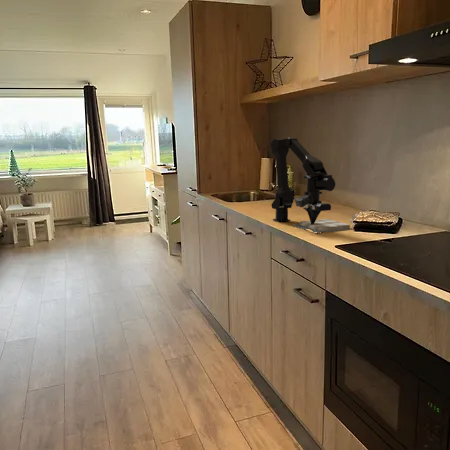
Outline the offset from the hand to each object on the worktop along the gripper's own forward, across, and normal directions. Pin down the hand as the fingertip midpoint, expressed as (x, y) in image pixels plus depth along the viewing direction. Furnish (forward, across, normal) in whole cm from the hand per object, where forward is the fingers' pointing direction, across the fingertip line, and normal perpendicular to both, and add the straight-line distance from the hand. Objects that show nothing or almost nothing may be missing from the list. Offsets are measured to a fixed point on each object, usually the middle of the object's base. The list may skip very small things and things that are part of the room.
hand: (312, 223), depth 188 cm
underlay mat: (+2, +1, +4) cm, 5 cm away
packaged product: (+3, +4, +26) cm, 26 cm away
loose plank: (+2, +1, +3) cm, 3 cm away
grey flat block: (+2, +1, +11) cm, 11 cm away
